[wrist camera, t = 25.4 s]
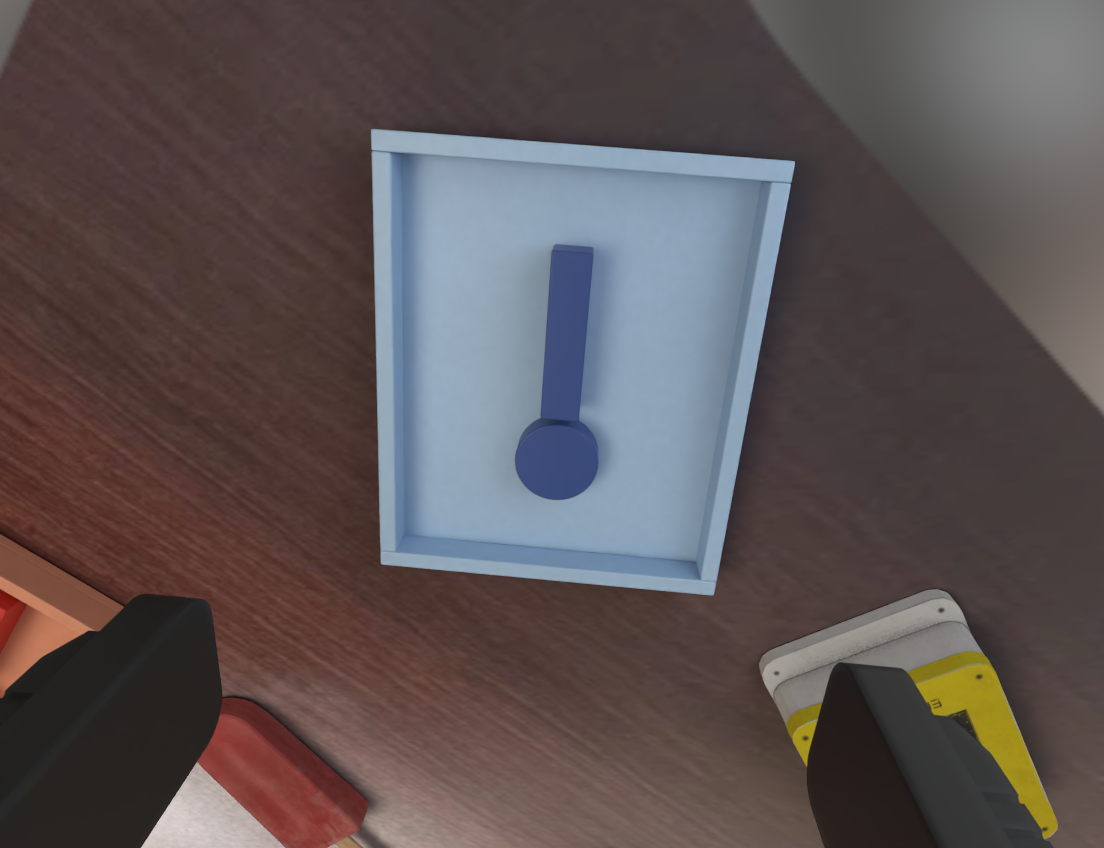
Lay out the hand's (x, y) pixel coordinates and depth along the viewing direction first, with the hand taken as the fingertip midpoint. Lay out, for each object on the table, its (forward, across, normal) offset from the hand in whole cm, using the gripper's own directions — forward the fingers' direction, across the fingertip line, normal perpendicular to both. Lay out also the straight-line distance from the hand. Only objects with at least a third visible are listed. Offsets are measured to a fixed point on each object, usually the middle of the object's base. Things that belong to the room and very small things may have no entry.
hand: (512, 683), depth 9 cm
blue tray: (+20, 0, +2) cm, 20 cm away
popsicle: (+20, +12, +27) cm, 36 cm away
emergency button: (+20, -18, +19) cm, 33 cm away
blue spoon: (+20, 0, +2) cm, 20 cm away
